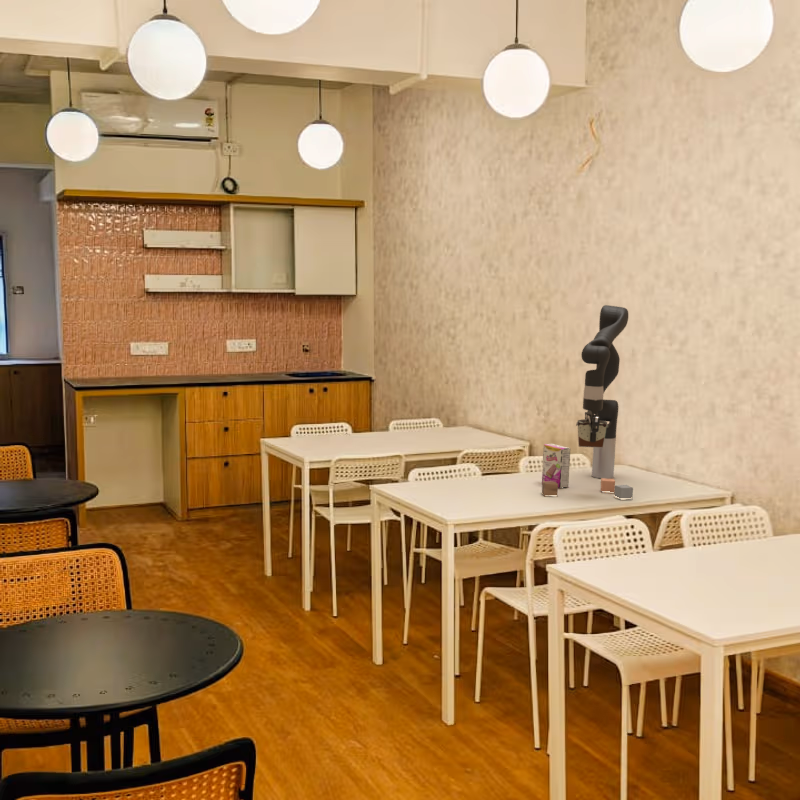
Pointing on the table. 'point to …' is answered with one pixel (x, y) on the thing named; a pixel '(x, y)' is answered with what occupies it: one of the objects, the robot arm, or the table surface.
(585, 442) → the food container
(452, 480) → the table surface
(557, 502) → the table surface
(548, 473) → the candy bar box
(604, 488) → the terracotta block
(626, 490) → the slate grey block
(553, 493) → the walnut block
